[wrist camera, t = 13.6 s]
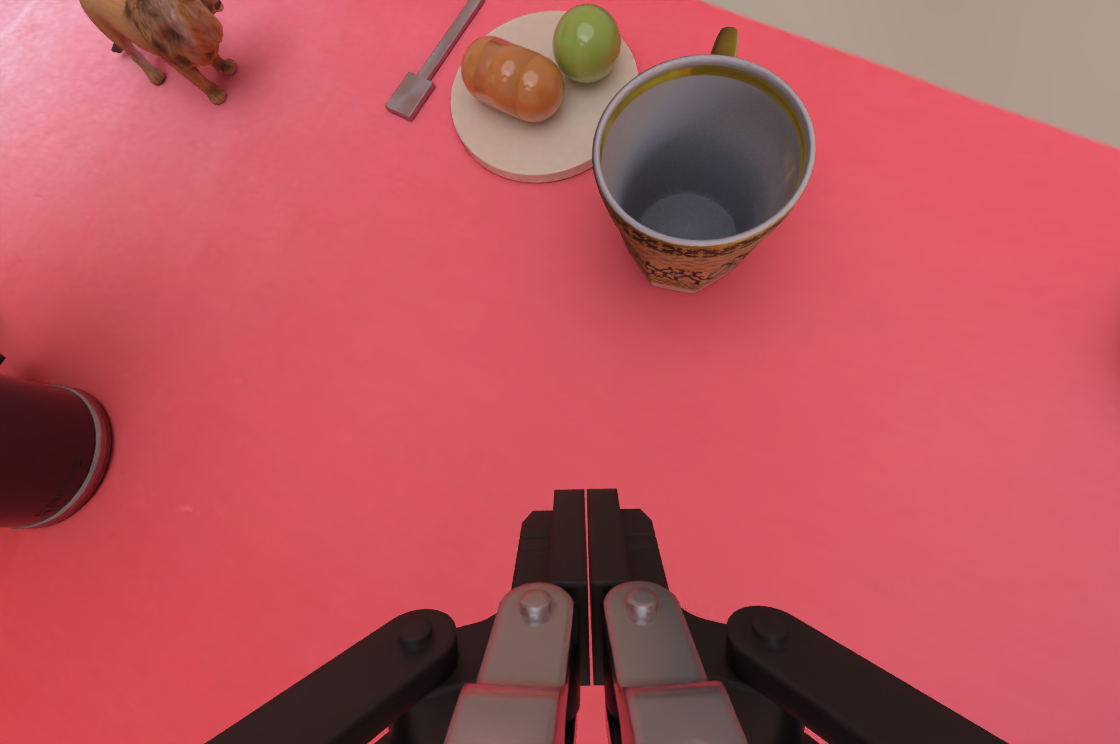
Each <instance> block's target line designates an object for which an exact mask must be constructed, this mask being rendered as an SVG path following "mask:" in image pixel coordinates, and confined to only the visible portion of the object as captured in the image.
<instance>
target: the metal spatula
mask: <svg viewBox="0 0 1120 744" xmlns="http://www.w3.org/2000/svg"><path fill="white" fill-rule="evenodd" d="M484 1H485V0H468V2H467V3H466V5H465V6H464V8H463V9H462V11H461V12H460V14H459V15H458V16H457V18H456V19H455V21H454V22H453V24H452V25H451V27H450V28H449V29H448V31H447V32H446V34H445V35H444V37H443V38H442V40H441V41H440V42H439V44H438V45H437V47H436V48H435V50H434V51H433V53H432V54H431V56H430V57H429V58H428V60H427V61H426V63H425V64H424V66H423V67H422V69H421V70H420V71H419V73H418V74H417V75H416V74H413V73H411V72H408V74H407V75H406V77H405V78H404V80H403V81H402V82H401V84H400V85H399V87H398V88H397V90H396V91H395V93H394V94H393V95H392V97H391V98H390V100H389V101H388V103H387V104H386V106H385V107H386V108H387V110H388V111H390V112H392V113H394V114H397V115H399V116H401V117H403V118H405V119H407V120H410V121H412V120H413V118H414V117H415V116H416V114H417V113H418V111H419V110H420V108H421V107H422V105H423V104H424V102H425V101H426V99H427V98H428V96H429V95H430V94H431V92H432V91H433V89H434V88H435V85H434V83H433V82H432V81H430V80H431V79H432V77H433V76H434V74H435V73H436V71H437V70H438V68H439V67H440V65H441V64H442V63H443V61H444V60H445V58H446V57H447V55H448V54H449V52H450V51H451V49H452V48H453V46H454V45H455V44H456V42H457V41H458V39H459V38H460V36H461V35H462V33H463V32H464V30H465V29H466V27H467V26H468V25H469V23H470V22H471V20H472V19H473V17H474V16H475V14H476V13H477V11H478V10H479V8H480V7H481V6H482V4H483V3H484Z"/></svg>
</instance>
